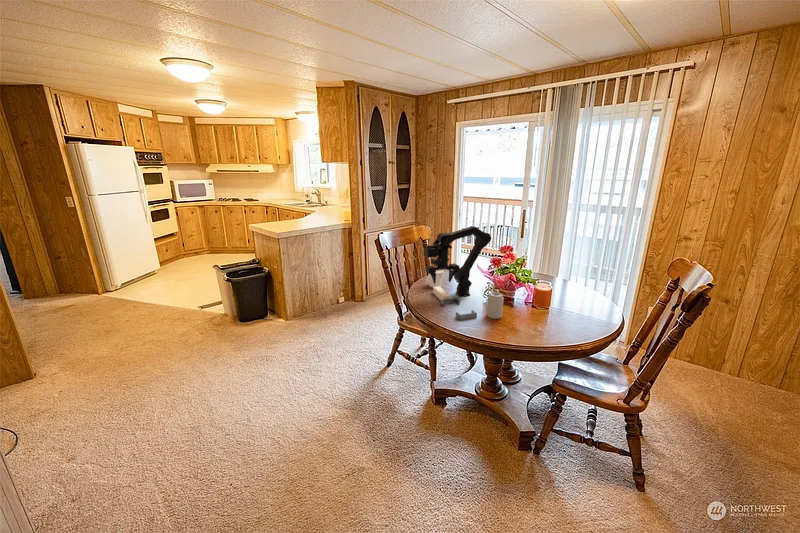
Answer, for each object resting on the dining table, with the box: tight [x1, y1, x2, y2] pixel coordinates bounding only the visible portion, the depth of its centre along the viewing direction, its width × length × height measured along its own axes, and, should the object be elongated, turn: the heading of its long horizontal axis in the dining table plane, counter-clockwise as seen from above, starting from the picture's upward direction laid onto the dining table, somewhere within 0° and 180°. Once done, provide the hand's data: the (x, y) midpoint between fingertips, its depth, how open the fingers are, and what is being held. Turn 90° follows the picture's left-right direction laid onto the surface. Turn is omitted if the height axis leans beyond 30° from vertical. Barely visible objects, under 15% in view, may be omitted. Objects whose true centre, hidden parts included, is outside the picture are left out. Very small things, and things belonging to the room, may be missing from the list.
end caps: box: [439, 297, 478, 321], centre depth 172 cm, size 10×22×2 cm, turn 18°
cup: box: [427, 270, 445, 288], centre depth 208 cm, size 10×10×10 cm
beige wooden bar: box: [432, 286, 451, 301], centre depth 190 cm, size 4×16×4 cm, turn 15°
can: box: [486, 291, 505, 320], centre depth 164 cm, size 8×8×12 cm
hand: (442, 282), depth 188 cm, fingers open, 9 cm apart
